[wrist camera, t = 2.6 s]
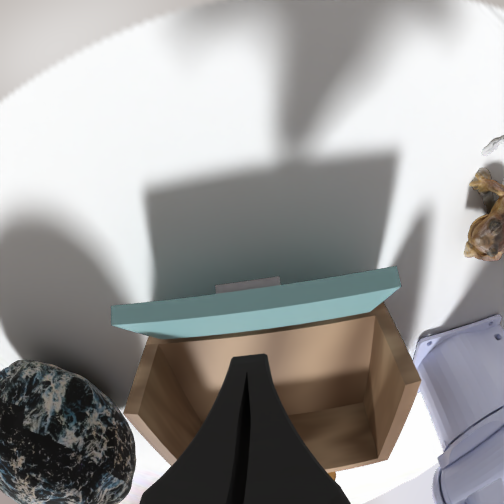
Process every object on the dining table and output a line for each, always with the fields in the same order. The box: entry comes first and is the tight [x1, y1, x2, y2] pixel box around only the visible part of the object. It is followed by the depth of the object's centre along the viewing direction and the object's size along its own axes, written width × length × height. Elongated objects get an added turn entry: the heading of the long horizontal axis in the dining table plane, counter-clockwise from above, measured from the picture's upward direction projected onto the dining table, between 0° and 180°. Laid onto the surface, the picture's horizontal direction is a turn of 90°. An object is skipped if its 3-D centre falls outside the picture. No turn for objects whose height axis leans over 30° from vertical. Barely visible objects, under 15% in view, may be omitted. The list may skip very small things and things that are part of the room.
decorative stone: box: [0, 360, 136, 504], centre depth 19 cm, size 16×16×15 cm
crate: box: [123, 302, 422, 473], centre depth 20 cm, size 17×12×7 cm
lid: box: [111, 266, 401, 339], centre depth 17 cm, size 14×2×6 cm
